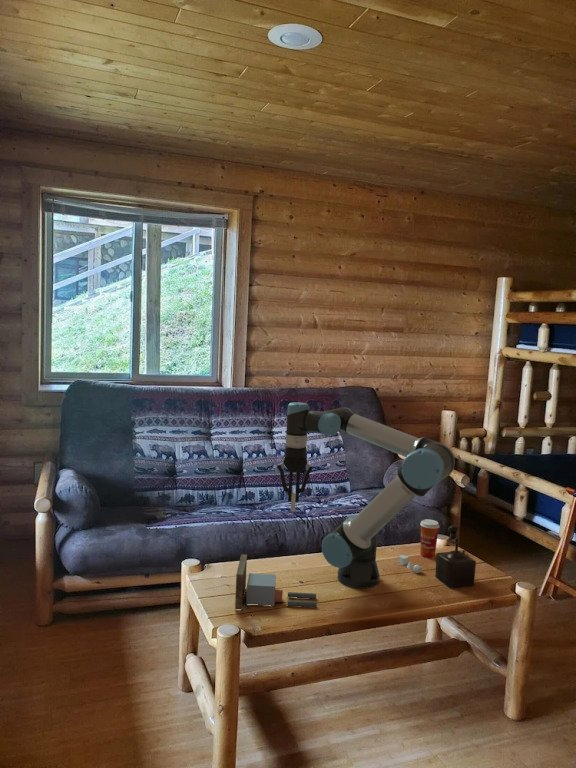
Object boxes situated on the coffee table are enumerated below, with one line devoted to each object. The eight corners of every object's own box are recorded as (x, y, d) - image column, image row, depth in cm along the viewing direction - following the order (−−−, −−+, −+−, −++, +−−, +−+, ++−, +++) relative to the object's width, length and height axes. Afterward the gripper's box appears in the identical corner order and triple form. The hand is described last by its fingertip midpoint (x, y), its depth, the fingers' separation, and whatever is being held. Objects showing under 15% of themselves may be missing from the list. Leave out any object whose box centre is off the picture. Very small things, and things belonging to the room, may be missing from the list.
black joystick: (476, 586, 213) (480, 538, 211) (450, 589, 209) (454, 540, 208) (451, 568, 228) (455, 523, 226) (426, 571, 224) (430, 525, 222)
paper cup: (414, 555, 239) (416, 521, 238) (423, 550, 245) (425, 517, 243) (432, 560, 234) (434, 526, 233) (440, 555, 240) (443, 522, 238)
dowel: (282, 597, 196) (282, 587, 195) (281, 605, 192) (282, 595, 191) (252, 595, 196) (252, 585, 195) (251, 603, 193) (251, 593, 191)
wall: (245, 588, 202) (247, 554, 201) (241, 610, 186) (242, 574, 185) (239, 588, 202) (241, 554, 201) (234, 610, 186) (236, 574, 185)
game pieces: (397, 563, 231) (397, 555, 231) (404, 562, 232) (404, 554, 232) (416, 575, 220) (416, 567, 220) (423, 574, 221) (423, 566, 221)
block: (275, 593, 199) (275, 574, 198) (274, 606, 190) (275, 586, 189) (248, 592, 199) (249, 573, 198) (246, 605, 190) (247, 585, 189)
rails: (315, 598, 197) (316, 593, 197) (316, 607, 191) (316, 603, 191) (287, 596, 198) (287, 592, 197) (287, 606, 191) (287, 601, 191)
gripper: (277, 447, 205) (274, 513, 208) (314, 449, 205) (311, 514, 208) (278, 443, 213) (275, 506, 215) (314, 444, 213) (310, 508, 215)
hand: (292, 510), depth 211 cm, fingers closed
